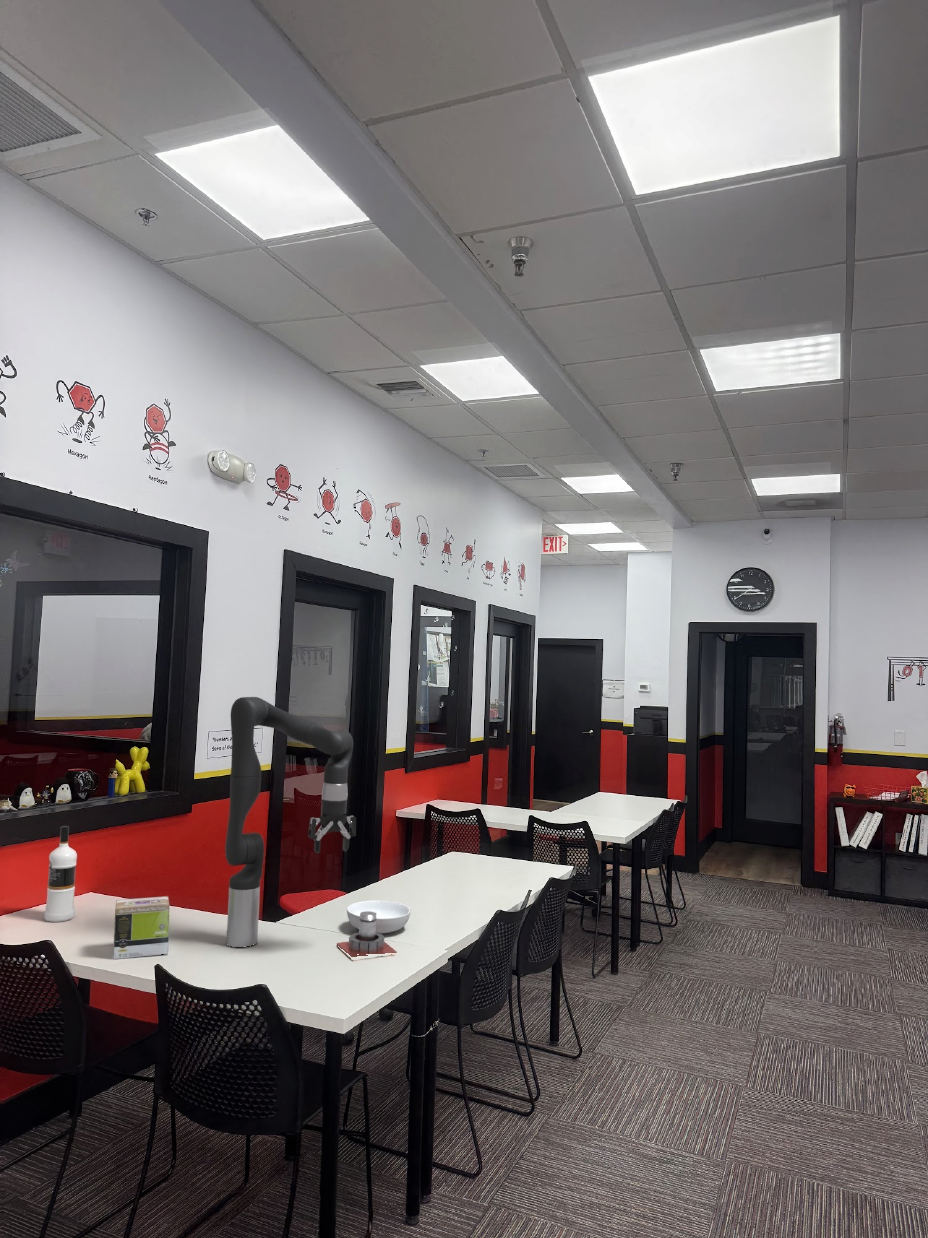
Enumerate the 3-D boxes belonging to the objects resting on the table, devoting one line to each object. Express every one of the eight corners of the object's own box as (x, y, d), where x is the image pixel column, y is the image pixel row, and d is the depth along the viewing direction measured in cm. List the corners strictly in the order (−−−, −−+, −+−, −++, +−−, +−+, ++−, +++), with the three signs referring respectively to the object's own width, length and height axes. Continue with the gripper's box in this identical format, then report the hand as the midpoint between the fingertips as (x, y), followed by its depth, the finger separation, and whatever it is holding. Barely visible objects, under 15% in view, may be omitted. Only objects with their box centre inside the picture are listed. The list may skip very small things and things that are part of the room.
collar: (336, 946, 263) (337, 933, 263) (379, 941, 269) (379, 928, 270) (352, 961, 251) (353, 947, 251) (396, 955, 257) (397, 941, 257)
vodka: (75, 921, 279) (81, 828, 281) (44, 924, 275) (49, 829, 276) (73, 913, 287) (79, 823, 289) (43, 916, 283) (48, 824, 285)
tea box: (166, 944, 259) (169, 895, 260) (168, 955, 250) (170, 904, 251) (113, 949, 254) (116, 898, 255) (112, 960, 245) (115, 907, 245)
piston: (355, 945, 261) (357, 912, 261) (371, 943, 263) (372, 910, 264) (361, 951, 257) (363, 917, 257) (377, 949, 259) (379, 915, 259)
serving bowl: (379, 944, 266) (380, 922, 267) (332, 930, 279) (333, 908, 279) (422, 929, 283) (423, 908, 283) (376, 916, 296) (377, 896, 296)
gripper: (352, 794, 264) (348, 847, 263) (307, 796, 257) (304, 850, 256) (361, 799, 257) (358, 853, 256) (316, 800, 250) (312, 856, 250)
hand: (331, 852), depth 256 cm, fingers open, 8 cm apart
